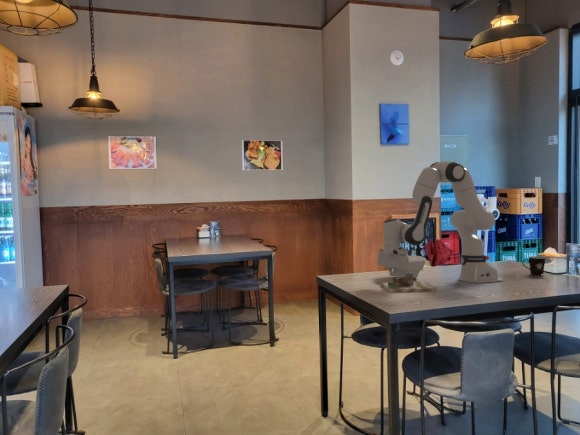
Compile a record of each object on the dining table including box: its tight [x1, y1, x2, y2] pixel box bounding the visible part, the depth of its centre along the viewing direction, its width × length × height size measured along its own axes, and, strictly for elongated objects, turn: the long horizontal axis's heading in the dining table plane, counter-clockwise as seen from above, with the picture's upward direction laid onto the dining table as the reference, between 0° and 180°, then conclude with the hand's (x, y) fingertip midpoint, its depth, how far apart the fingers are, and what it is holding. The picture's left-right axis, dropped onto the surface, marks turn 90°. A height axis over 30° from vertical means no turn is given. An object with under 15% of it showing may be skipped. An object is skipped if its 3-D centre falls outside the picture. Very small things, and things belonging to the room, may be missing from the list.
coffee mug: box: [522, 256, 546, 276], centre depth 273 cm, size 12×9×10 cm
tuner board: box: [380, 281, 438, 294], centre depth 243 cm, size 24×18×4 cm
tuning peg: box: [392, 272, 414, 286], centre depth 242 cm, size 12×4×6 cm, turn 118°
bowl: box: [392, 255, 427, 279], centre depth 272 cm, size 22×22×12 cm
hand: (392, 275), depth 245 cm, fingers closed
